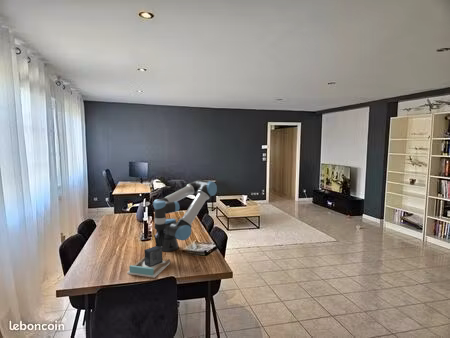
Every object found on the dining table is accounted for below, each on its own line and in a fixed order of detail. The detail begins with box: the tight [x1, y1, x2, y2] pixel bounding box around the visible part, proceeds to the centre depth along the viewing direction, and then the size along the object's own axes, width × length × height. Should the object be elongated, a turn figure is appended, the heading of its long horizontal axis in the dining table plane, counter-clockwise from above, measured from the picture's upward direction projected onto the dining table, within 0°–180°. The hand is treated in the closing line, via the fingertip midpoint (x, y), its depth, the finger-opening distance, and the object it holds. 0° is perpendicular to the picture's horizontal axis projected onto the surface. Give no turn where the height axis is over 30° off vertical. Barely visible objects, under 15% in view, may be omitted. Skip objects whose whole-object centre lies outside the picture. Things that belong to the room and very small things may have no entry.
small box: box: [144, 245, 164, 267], centre depth 190 cm, size 11×6×10 cm, turn 141°
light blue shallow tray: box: [126, 256, 171, 279], centre depth 185 cm, size 22×19×5 cm
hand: (159, 255), depth 200 cm, fingers closed
